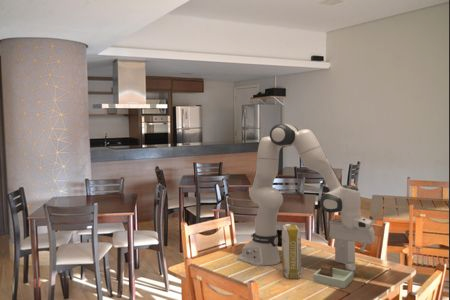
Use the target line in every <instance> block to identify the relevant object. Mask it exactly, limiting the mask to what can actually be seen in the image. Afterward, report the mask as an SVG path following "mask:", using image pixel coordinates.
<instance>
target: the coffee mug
mask: <svg viewBox="0 0 450 300" xmlns="http://www.w3.org/2000/svg"><path fill="white" fill-rule="evenodd" d="M282 229H283V225H277V234H278V245H277V246H278V248H280V247H281V248H282Z"/></svg>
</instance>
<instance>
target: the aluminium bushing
mask: <svg viewBox="0 0 450 300" xmlns="http://www.w3.org/2000/svg"><path fill="white" fill-rule="evenodd" d="M356 269H357V265H356V263H355V262H347V263H346V264H345V270H346V271H351V272H354V277H356V275H357V270H356Z"/></svg>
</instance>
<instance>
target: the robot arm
mask: <svg viewBox="0 0 450 300" xmlns="http://www.w3.org/2000/svg"><path fill="white" fill-rule="evenodd" d="M289 146H290V147H291V146H293V147H294V148H295V149H296V151H297V154H298V156H299V159H300V160H301V163H302V164H303V165H304V167H305V168H306V169H308V170H311V171H314V172H317V173H318V174H319V175H320V176H321V177H322V179H323V180H324V182H325V184H326V186H327V187H328V190H329V191H328V192H325V193H324V194H323V195H322V196H321V197H320V199H319V200H320V201H319V203H320V206H321V209H322V210H323V211H324V212H327V213H331V214H332V213H340V219H336V218H332V219H330V220H329V222H328V223H329V224H328V225H329V233H328V234H329V238H330V239H331V240H335V239H337V242H338V244H339V245H340V249H344V245H342V243H341V241H342V240H345V241H353V242H355V243H361V245H362V246H361V247H359V252H360V253H365V248H366V246H367V245H368V244H369V245H372V244H373V243H375V241H376V235H375V229H374V227H373V226H372V225H373V221H372V220H370V219H369V218H366V217H364V216H362V214H361V206H362V205H361V202H362V199H361V192H360V190H359V188H358V187H356V186H354V185H351V184H342V183H341V181H340V179H339V177H338V175H337V174H336V171H335V170H334V168H333V167H332V164H331V163H330V161H329V160H328V159H327V157H326V154H325V153H324V151H323V148H322V147H321V144H320V142H319V141H318V138H317V137H316V136H315V134H314V132H313V131H312V130H310V129H307V128H305V129H300V130H299V129H298V128H297V127H296V126H294V125H292V124H289V123H278V124H276V125H273V127H272V128H271V129H270V131H269V136H263V137H262V138H261V139H260V140H259V143H258V148H257V154H256V165H255V170H256V171H255V175H254V179H253V183H252V186H251V187H250V189H249V192H248V196H249V198H250V200H251V201H252V202H253V203H254V204H256V205H257V206H258V210H257V214H256V216H255V218H254V231H255V232H254V233H252V234H251V235H250V237H251V238H252V239H251V240H250V241H248V242H247V243H246V244H245V245H244V246H243V247H242V249H241V253H240V254H238V256H237V258H236V259H237V260H238V261H241V262H244V263H247V264H250V265H253V266H257V267H260V266H272V265H277V264H279V263H280V262H282V259H281V257H280V254H279V253H280V252H279V246H277V245H278V234H277V226H278V222H277V221H278V215H279V210H280V208H281V206H282V205H283V203H284V196H283V194H282V193H281V192H280V190H279V189H277V188H275V187H273V185H274V182H275V179H276V178H277V176H278V173H279V161H280V160H279V159H280V150H281V149H282V148H288V147H289Z"/></svg>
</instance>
